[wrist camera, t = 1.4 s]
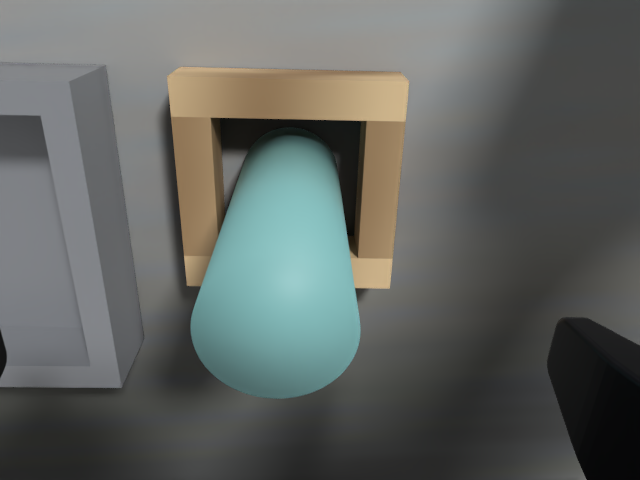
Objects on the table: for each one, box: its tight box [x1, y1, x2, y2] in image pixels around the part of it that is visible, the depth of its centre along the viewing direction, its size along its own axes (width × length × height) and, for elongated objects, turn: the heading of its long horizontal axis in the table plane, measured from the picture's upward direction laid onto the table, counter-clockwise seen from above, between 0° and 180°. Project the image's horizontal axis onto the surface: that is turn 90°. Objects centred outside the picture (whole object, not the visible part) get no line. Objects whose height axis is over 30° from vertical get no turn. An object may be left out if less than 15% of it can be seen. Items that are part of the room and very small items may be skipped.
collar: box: [167, 67, 409, 288], centre depth 16 cm, size 6×6×2 cm
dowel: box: [191, 127, 360, 399], centre depth 13 cm, size 3×3×8 cm
